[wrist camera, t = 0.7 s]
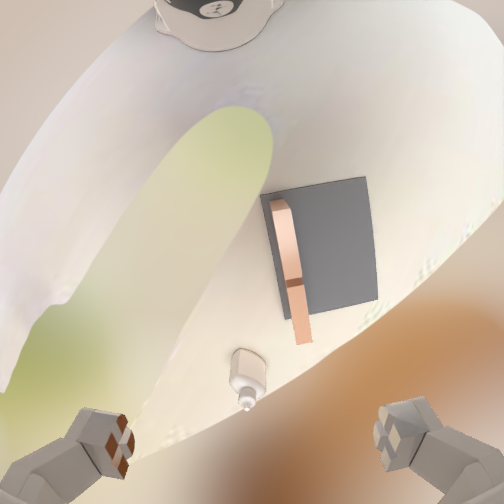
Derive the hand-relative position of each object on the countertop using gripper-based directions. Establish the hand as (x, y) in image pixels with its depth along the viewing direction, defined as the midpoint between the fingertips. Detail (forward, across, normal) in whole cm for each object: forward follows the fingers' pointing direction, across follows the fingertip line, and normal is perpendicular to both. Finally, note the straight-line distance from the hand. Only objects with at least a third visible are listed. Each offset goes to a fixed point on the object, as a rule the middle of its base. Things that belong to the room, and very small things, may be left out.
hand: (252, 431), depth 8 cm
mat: (+36, -10, +5) cm, 38 cm away
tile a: (+36, -4, +1) cm, 36 cm away
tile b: (+36, -6, +10) cm, 38 cm away
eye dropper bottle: (+36, +1, +23) cm, 43 cm away
